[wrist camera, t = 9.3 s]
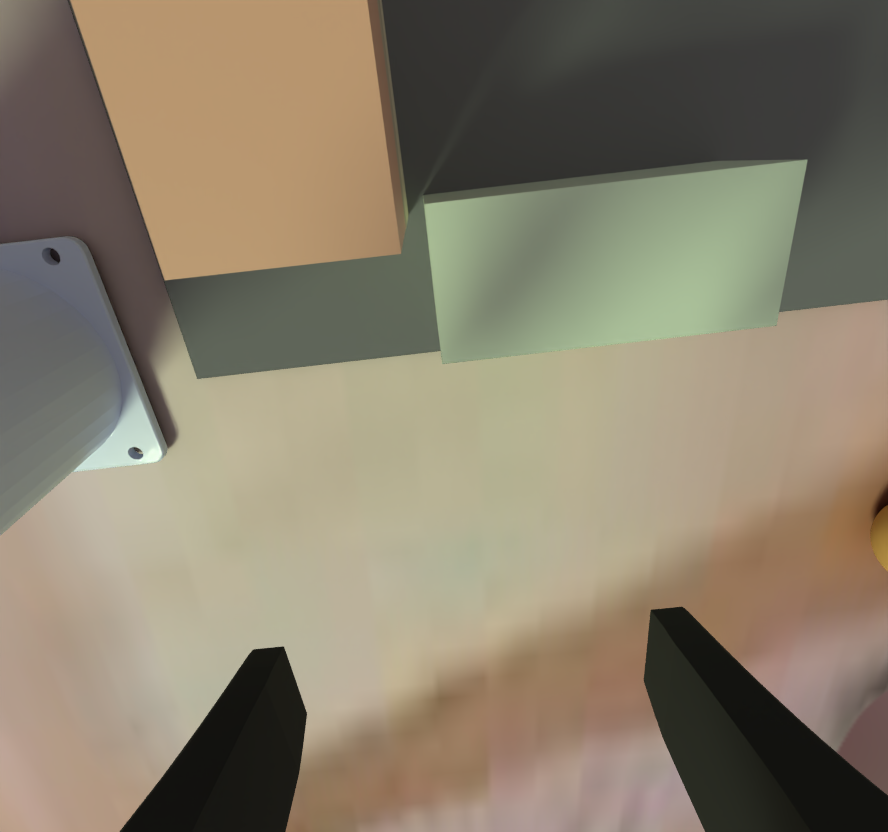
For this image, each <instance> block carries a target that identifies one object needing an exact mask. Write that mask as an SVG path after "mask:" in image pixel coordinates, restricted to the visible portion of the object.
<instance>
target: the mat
mask: <svg viewBox="0 0 888 832" xmlns="http://www.w3.org/2000/svg"><path fill="white" fill-rule="evenodd" d="M68 2H69V5H70V8H71V11H72V14H73V17H74V20H75V23H76V26H77V29H78V31H79V34H80V37H81V40H82V43H83V46H84V49H85V52H86V55H87V58H88V61H89V64H90V67H91V69H92V72H93V75H94V78H95V81H96V84H97V87H98V90H99V93H100V96H101V99H102V102H103V105H104V107H105V110H106V113H107V116H108V119H109V122H110V125H111V128H112V131H113V134H114V137H115V140H116V142H117V145H118V148H119V151H120V154H121V157H122V160H123V163H124V166H125V169H126V172H127V175H128V178H129V180H130V183H131V186H132V189H133V192H134V195H135V198H136V201H137V204H138V207H139V210H140V213H141V216H142V218H143V221H144V224H145V227H146V230H147V233H148V236H149V239H150V242H151V245H152V248H153V251H154V254H155V256H156V253H155V250H154V247H153V244H152V241H151V238H150V235H149V232H148V229H147V226H146V223H145V220H144V217H143V214H142V211H141V208H140V205H139V202H138V200H137V197H136V194H135V191H134V188H133V185H132V182H131V179H130V176H129V173H128V170H127V167H126V164H125V161H124V158H123V155H122V152H121V149H120V146H119V143H118V140H117V137H116V134H115V131H114V128H113V125H112V123H111V120H110V117H109V114H108V111H107V108H106V105H105V102H104V99H103V96H102V93H101V90H100V87H99V84H98V81H97V78H96V75H95V72H94V69H93V66H92V63H91V60H90V57H89V54H88V51H87V48H86V46H85V43H84V40H83V37H82V34H81V31H80V28H79V25H78V22H77V19H76V16H75V13H74V10H73V7H72V4H71V1H70V0H68ZM382 7H383V15H384V23H385V31H386V39H387V47H388V55H389V63H390V71H391V79H392V87H393V95H394V102H395V110H396V118H397V126H398V134H399V142H400V150H401V158H402V166H403V174H404V182H405V190H406V198H407V206H408V214H409V215H408V221H407V227H406V230H405V235H404V240H403V246H402V251H401V254H396V255H387V256H378V257H369V258H360V259H351V260H342V261H334V262H325V263H316V264H307V265H298V266H289V267H280V268H271V269H262V270H253V271H244V272H235V273H227V274H218V275H209V276H200V277H191V278H182V279H173V280H165V279H164V276H163V274H162V271H161V268H160V265H159V262H158V259H157V256H156V259H157V262H158V265H159V268H160V271H161V274H162V277H163V280H164V283H165V286H166V289H167V292H168V294H169V297H170V300H171V303H172V306H173V309H174V312H175V315H176V318H177V321H178V324H179V327H180V329H181V332H182V335H183V338H184V341H185V344H186V347H187V350H188V353H189V356H190V359H191V362H192V365H193V367H194V370H195V373H196V376H197V379H201V378H209V377H218V376H227V375H235V374H244V373H253V372H262V371H270V370H279V369H288V368H296V367H305V366H314V365H322V364H331V363H340V362H348V361H357V360H366V359H375V358H383V357H392V356H401V355H409V354H418V353H427V352H435V351H441V349H440V341H439V333H438V325H437V317H436V308H435V299H434V290H433V281H432V273H431V264H430V255H429V246H428V237H427V228H426V219H425V211H424V202H423V195H428V194H436V193H445V192H454V191H462V190H471V189H479V188H488V187H497V186H505V185H514V184H522V183H531V182H540V181H548V180H557V179H565V178H574V177H583V176H591V175H600V174H608V173H617V172H626V171H634V170H643V169H651V168H660V167H669V166H677V165H686V164H694V163H703V162H712V161H739V160H807V166H806V171H805V176H804V182H803V187H802V192H801V198H800V203H799V208H798V214H797V219H796V224H795V230H794V235H793V240H792V246H791V251H790V256H789V262H788V267H787V272H786V277H785V283H784V288H783V293H782V299H781V304H780V309H779V312H783V311H792V310H801V309H809V308H818V307H827V306H835V305H844V304H853V303H861V302H870V301H879V300H888V0H382Z"/></svg>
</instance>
